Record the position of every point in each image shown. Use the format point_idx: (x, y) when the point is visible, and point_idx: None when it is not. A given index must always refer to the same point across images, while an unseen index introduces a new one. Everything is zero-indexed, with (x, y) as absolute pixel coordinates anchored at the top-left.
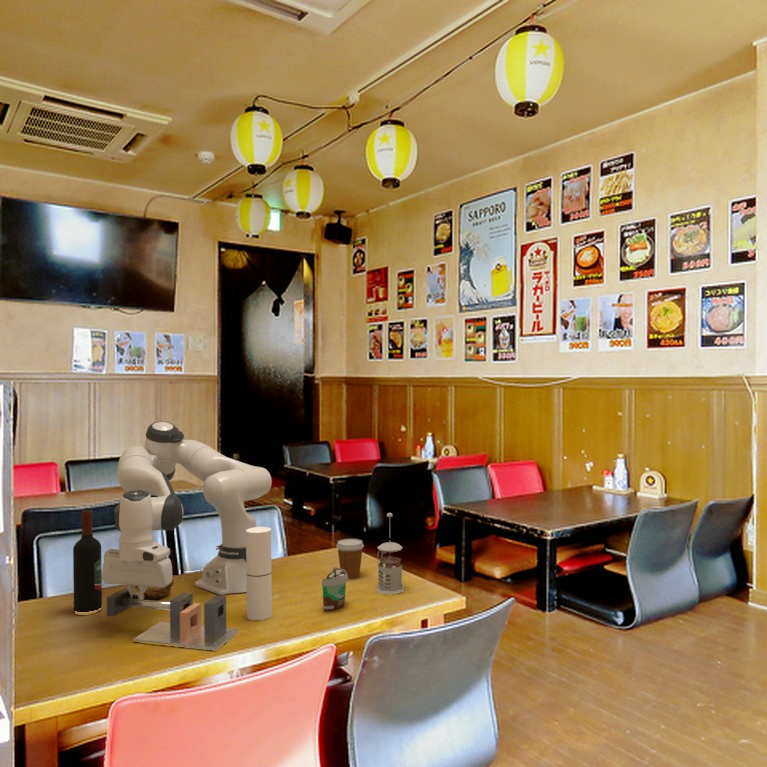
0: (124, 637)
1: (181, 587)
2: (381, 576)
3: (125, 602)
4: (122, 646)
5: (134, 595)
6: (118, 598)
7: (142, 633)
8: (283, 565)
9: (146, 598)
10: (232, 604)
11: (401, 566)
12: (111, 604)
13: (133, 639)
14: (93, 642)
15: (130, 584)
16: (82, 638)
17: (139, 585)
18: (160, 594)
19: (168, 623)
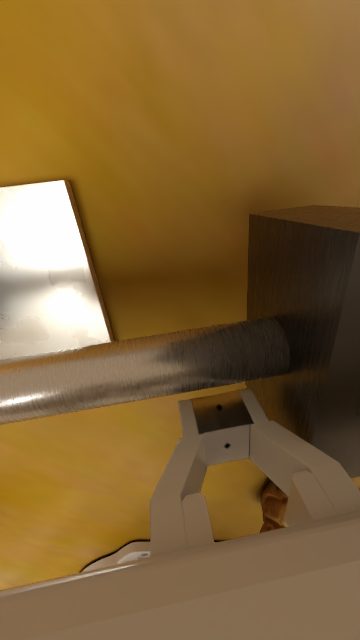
0: (164, 221)
1: (261, 527)
2: None
3: (244, 330)
4: (80, 112)
5: (231, 424)
6: (316, 304)
7: (81, 257)
8: None
9: None
10: (49, 527)
11: None
12: (334, 217)
13: (62, 180)
14: (272, 103)
15: (316, 531)
16: (355, 132)
17: (173, 557)
18: (272, 493)
19: None
